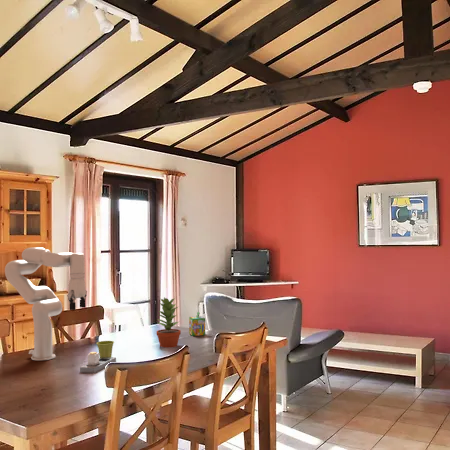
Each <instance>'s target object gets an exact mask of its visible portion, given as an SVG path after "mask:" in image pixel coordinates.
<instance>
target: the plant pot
mask: <svg viewBox="0 0 450 450" xmlns="http://www.w3.org/2000/svg"><path fill="white" fill-rule="evenodd" d="M114 343H115V342H114V340H101V341H97V342H96V345H97V349H98V353H99V358H101V357H112V356H113V355H112V353H113V346H114Z"/></svg>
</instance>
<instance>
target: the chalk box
mask: <svg viewBox="0 0 450 450" xmlns="http://www.w3.org/2000/svg"><path fill="white" fill-rule="evenodd" d="M200 314H201V313H200V312H198V311H197V312H196V316H189V317H188V321H189V322H188V323H189V324H188V334H189V335H190V336H192V337H200V336H206V318H205V317H204V316H202V315H201V316H200Z"/></svg>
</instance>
